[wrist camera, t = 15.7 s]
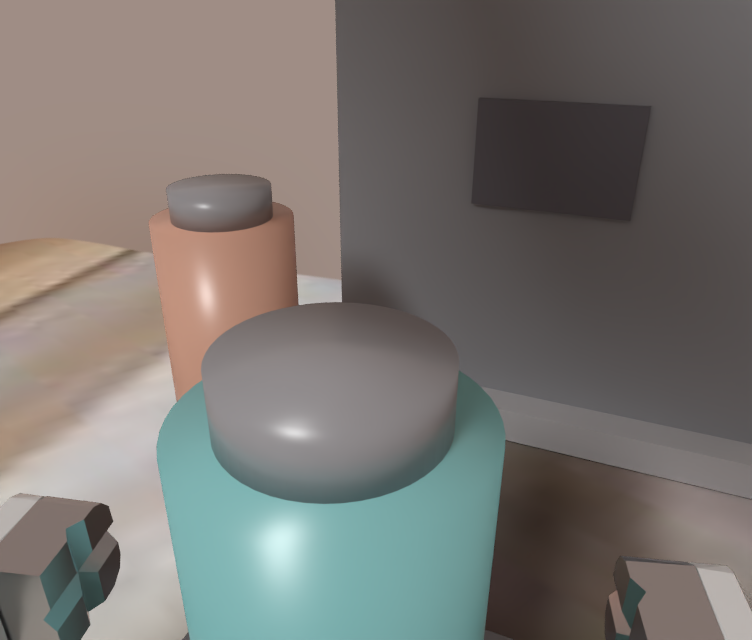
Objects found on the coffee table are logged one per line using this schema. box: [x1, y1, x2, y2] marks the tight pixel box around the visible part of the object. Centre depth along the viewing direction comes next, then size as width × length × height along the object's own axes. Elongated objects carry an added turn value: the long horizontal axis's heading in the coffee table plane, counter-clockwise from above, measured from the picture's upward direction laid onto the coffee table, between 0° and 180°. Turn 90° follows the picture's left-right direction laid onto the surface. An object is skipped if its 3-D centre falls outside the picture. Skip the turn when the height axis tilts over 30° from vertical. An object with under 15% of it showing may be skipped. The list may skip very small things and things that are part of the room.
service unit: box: [335, 0, 752, 499], centre depth 28 cm, size 22×10×18 cm, turn 67°
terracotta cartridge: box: [149, 174, 298, 402], centre depth 23 cm, size 4×4×12 cm
